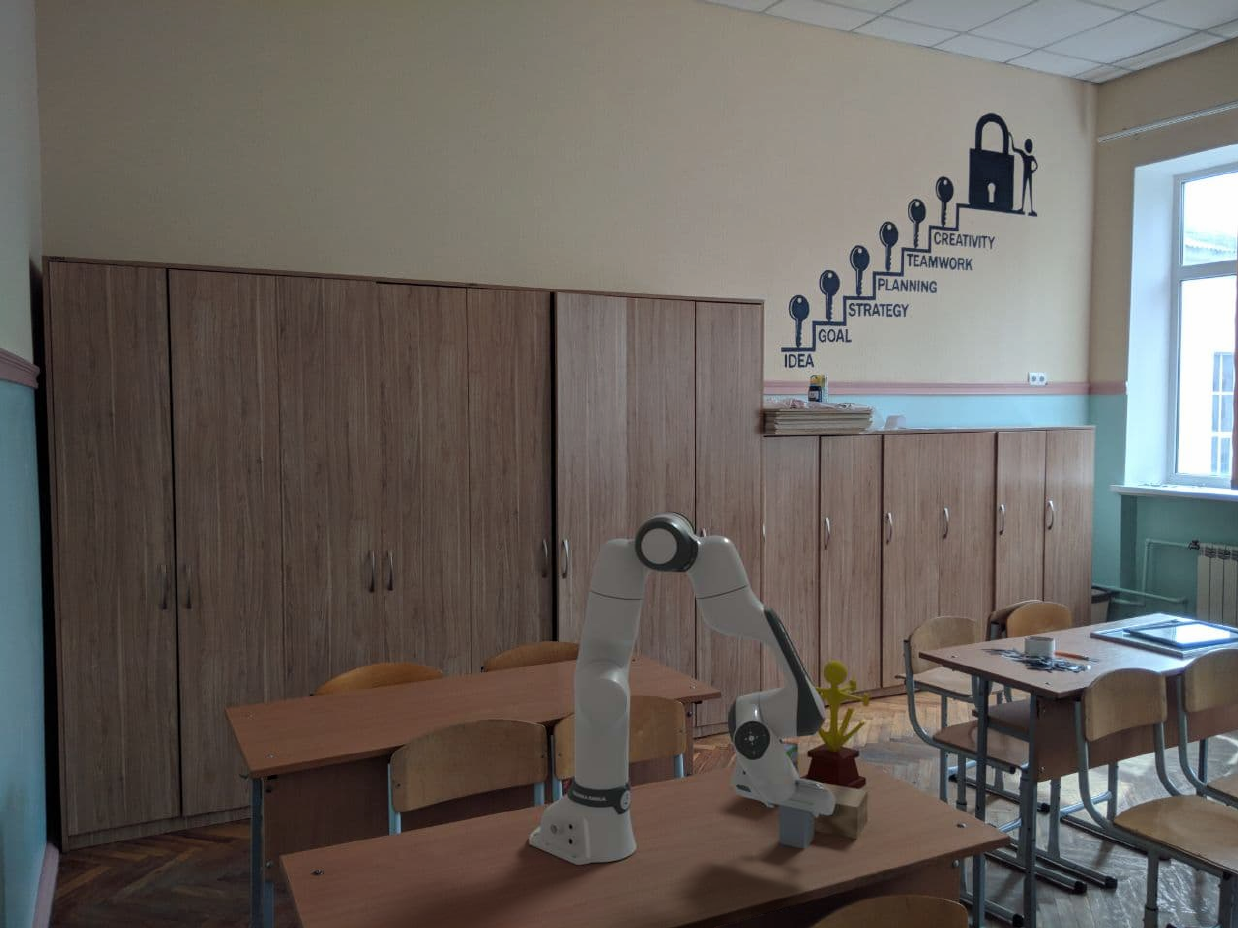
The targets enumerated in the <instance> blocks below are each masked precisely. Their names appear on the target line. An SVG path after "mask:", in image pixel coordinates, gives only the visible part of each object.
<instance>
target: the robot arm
mask: <svg viewBox="0 0 1238 928" xmlns="http://www.w3.org/2000/svg"><path fill="white" fill-rule="evenodd" d="M651 571H656V572H659V573H679V574H682V573H683V574H684V573H686V574H687V576H688V577H689V579H690V582H691V584H692V588H693V589H692V590H693V592H694V596H695V600H696V603H697V607H698V609H699V612H700V614H701V617H702V619H703V621H704V622H705V624H706V625H707V626H708V627H709V628H710V629H712V630H713V631H716V632H717V633H719V634H722V635H725V636H729V637H735V638H743V639H750V640H753V641H757V642H760V643H761V644H763V645H765V646H767V647H768V648H769V649H770V651H771V652H772V654H773V656H774V659H775V660H776V663H777V664H778V667H779V669H780V671H781V673H782V675H783V677H784V680H785V682H786V685H785V686H783V687H778V688H774V689H769V690H764V691H758V692H757V691H756V692H752V693H748V694H743V695H740V696H737V697H736V698H735V699H734V700H733V702H732V704H731V706H730V708H729V710H728V714H727V727H728V731H729V732H728V733H729V736H730V739H731V742H732V744H733V748H734V750H735V755H736V757H737V759H738V760H737V762H736V764H735V767H734V770H733V774H732V779H731V782H730V783H731V786H732V787H733V789H734V791H735V792H736V794H737V795H738V796H740V797H743V798H748V799H751V800H756V801H759V802H761V803H763V804H765V805H766V807H767V808H772V809H774V808H775V807H776V805H778V806H780V805H783V806H787V807H792V808H796V809H801V810H806V811H809V814H810V816H812V817H817V818H818V815H819V814H824V815H830V814H832V813H833V810H834V806H835V801H836V799H835V797H834V795H833V794H832V793H831V791H830V790H829V789H828V788H827V787H826V786H825V785H823V784H822V783H819V782H816V781H811V780H806V779H801V777H799V771H798V772H797V770H796V769H795V767H794V765H793V763H792V761H791V760H790V758H789V757H788V755H787V754H786V751H785V749H784V747H783V745H782V744H781V742H780V741H779V740H780V739H782V740H784V739H789V738H794V737H797V738H798V737H809V736H815V734H818V730H819V729H820V728H821V727H822V726H823V725H824V724H825V722H826V709H825V704H824V701H823V699H821V697H820V696H821V695H820V693H819V691H817V690H816V689H815V687H816V686H815V687H814V683H813V682H812V681H811V678H810V677H809V675H808V673H807V671H806V668H805V667H804V664H803V662H802V660H801V658H800V656H799V654H798V652H797V650H796V647H795V646H794V644H793V642H792V639H791V637H790V636H789V634H788V632H787V630H786V628H785V626H784V624H783V622H782V620H781V619H780V617H779V616H778V614H777V612H776V611H775V610H774V609H773V607H771V606H767V605H764V604H763V603H762V602H761V601H760V600H759V599H758V598H757V596H756V595H755V593H754V591H753V590H752V588H751V584H750V580H749V578H748V575H747V571H746V569H745V566H744V564H743V561H742V559H741V557H740V554H739V552H738V550H737V548H736V546H735V544H734V543H733V541H732V540H730V538H728V537H727V536H724V535H723V536H722V535H708V536H704V537H703V536H698V535H696V530H695V528H694V525H693V523H692V522H691V521H690V519H689V518H688V517H686V516H685V515H684V514H682V513H678V512H675V511H664V512H661V513H657V514H654V515H652V516H651V517H649V518H648V519H647V520H646V521H645V522H644V523H643V524H642V525H641V526H640V527H639V529H638V530H637V532H636V535H635V537H634V538H632V539H629V538H628V539H627V538H614V539H610V540H607V541H606V542H605V543H604V544H602V546H601V548H600V549H599V552H598V555H597V557H596V561H595V564H594V568H593V571H592V576H591V580H590V585H589V589H588V599H587V603H586V609H585V610H586V611H585V616H584V623H583V629H582V633H581V637H580V643H579V648H578V655H577V658H576V659H577V660H576V666H575V670H574V678H573V679H574V686H573V687H574V688H573V689H574V775H573V776H571V777H570V778H569V779H568V780H566V781H565V782H563V785H564V786H563V789H566V788H568V790H567V793H566V794H564V795H563V796H562V797H560V798H559V799H557V800H556V801H554V802H553V803H552V804H550V805H549V806H548V807H547V808H546V809H545V810H544V811H543V814H542V816H541V819H540V825H539V826H538V827H537V828H536V829H534V830H533V831H532V832H531V834H530V835H529V839H528V844H529V845H531V846H532V847H535V848H537V849H540V850H541V851H544V852H547V853H549V854H552V855H553V856H555V857H558V858H559V859H562V860H564V861H567V862H569V863H571V864H573V865H577V866H583V865H587V864H588V865H589V864H591V863H609V862H614V861H619V860H623V859H625V858H627V857H629V856H631V855H632V854H633V853H634V852H636V849H637V843H636V841H635V837H634V836H635V835H634V833H633V827H632V821H631V812H630V807H631V798H632V797H631V795H632V793H631V791H632V790H631V786H632V785H631V778H630V777H629V739H630V738H629V736H630V721H631V719H630V718H631V717H630V716H631V715H630V714H631V689H630V685H629V672H630V667H631V666H630V665H631V661H632V656H633V651H634V648H635V646H636V645H635V643H636V641H637V639H638V638H637V636H638V631H639V627H640V626H639V625H640V621H641V615H642V614H641V613H642V608H643V607H642V606H643V600H644V594H645V590H646V589H645V588H646V584H647V583H646V582H647V579H648V576H649V574H650V572H651Z"/></svg>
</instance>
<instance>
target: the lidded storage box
mask: <svg viewBox="0 0 1238 928" xmlns="http://www.w3.org/2000/svg"><path fill="white" fill-rule="evenodd" d="M778 827H779V828H778V829H779V830H778V831H779V833H778V834H779V835H778V836H779V837H778V839H779V841H778V843H779V844H782V845H786V846H791V847H794V848H798V849H803V850H805V849H806V848H807V847H808V846H809V845H810V844H811V843H812V842H813V841H814V839H815V831H814V817H812V816H810V814H809V811H806V810H801V809H796V808H792V807H787V806H783V805H779V826H778Z"/></svg>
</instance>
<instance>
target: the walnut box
mask: <svg viewBox="0 0 1238 928" xmlns="http://www.w3.org/2000/svg"><path fill="white" fill-rule="evenodd" d="M822 784H823V785H825V786H826V787H827V788H828V789H829V790H830V791H831V793H832V794H833V795H834V797H835V799H836V801H835V806H834V810H833V813H832V814H830V815H824V814H819V815H818V818H817V817H814V832H817V831H818V833H822V834H829V835H834V836H839V837H843V838H850V839H853V840H854V839H855V840H858V838H859V837H860V835H861V832H863V829H864V828H865V826H866V824H867V822H868V804H869V803H868V795H869V794H868V792H869V791H868V790H866V789H865V790H864V789H860V788H858V789H855V788H849V787H843V786H837V785H831V784H825V783H822Z"/></svg>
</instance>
